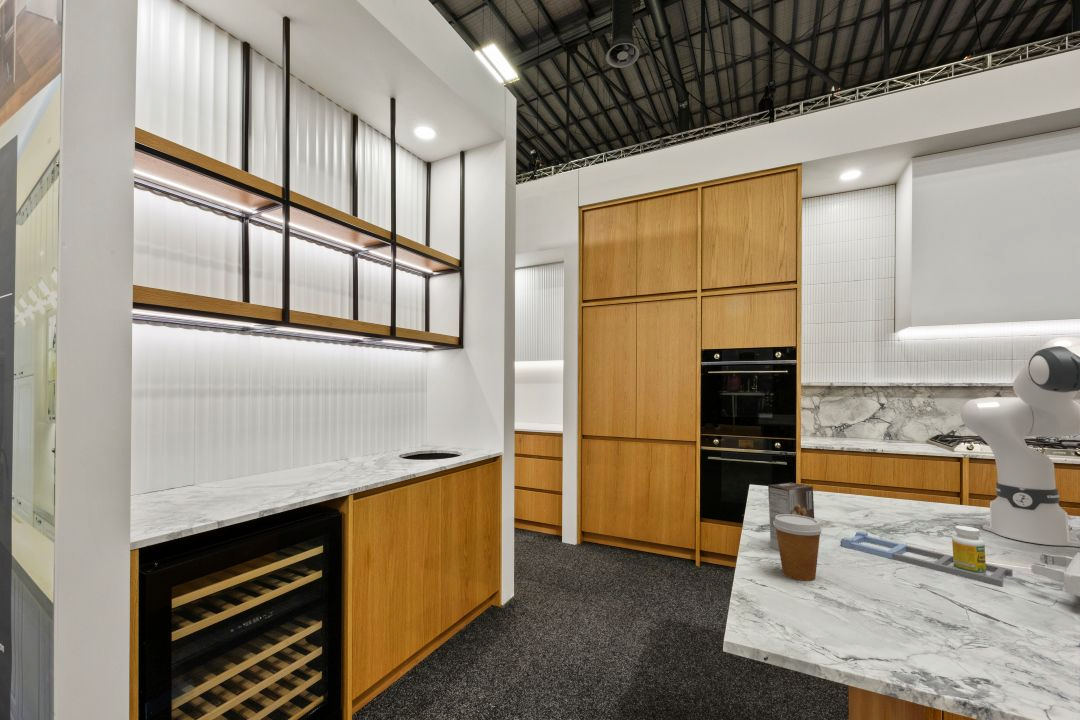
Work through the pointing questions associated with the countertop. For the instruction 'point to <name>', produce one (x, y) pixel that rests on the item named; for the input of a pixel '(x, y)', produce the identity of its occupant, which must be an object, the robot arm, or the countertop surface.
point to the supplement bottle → (968, 550)
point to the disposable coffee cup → (798, 545)
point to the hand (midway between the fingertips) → (1036, 562)
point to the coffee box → (789, 504)
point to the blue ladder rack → (938, 565)
